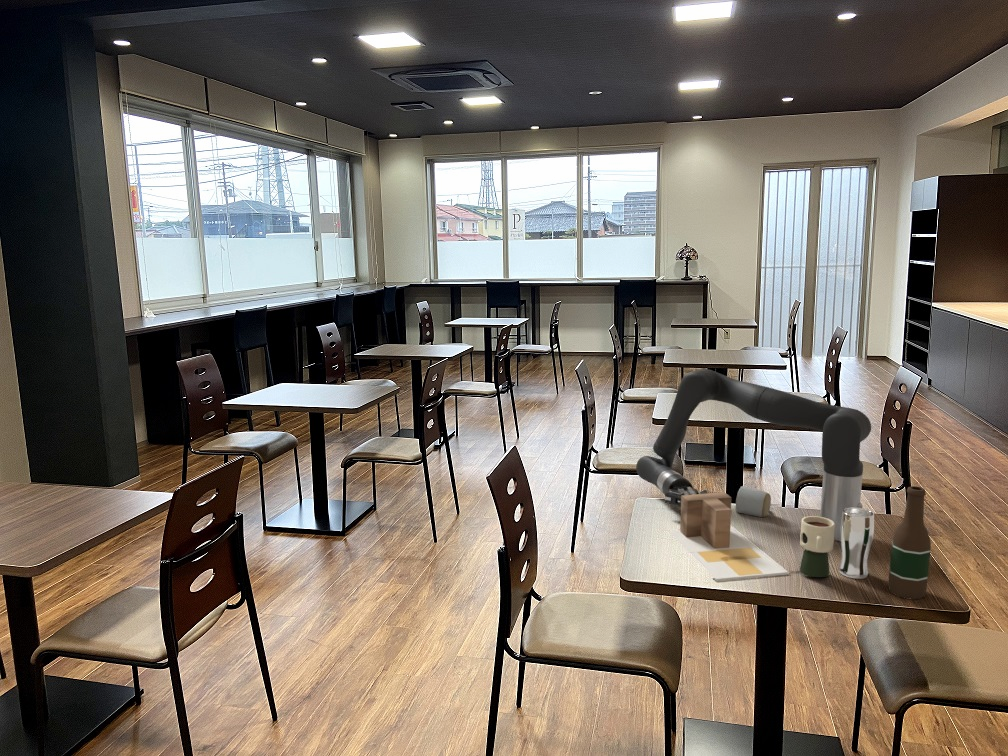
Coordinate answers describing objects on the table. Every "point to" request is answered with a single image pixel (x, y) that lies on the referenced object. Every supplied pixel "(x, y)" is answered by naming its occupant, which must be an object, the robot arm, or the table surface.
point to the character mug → (816, 545)
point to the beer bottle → (910, 550)
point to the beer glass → (856, 541)
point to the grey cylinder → (753, 502)
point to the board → (730, 557)
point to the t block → (707, 518)
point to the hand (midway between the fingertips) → (699, 507)
